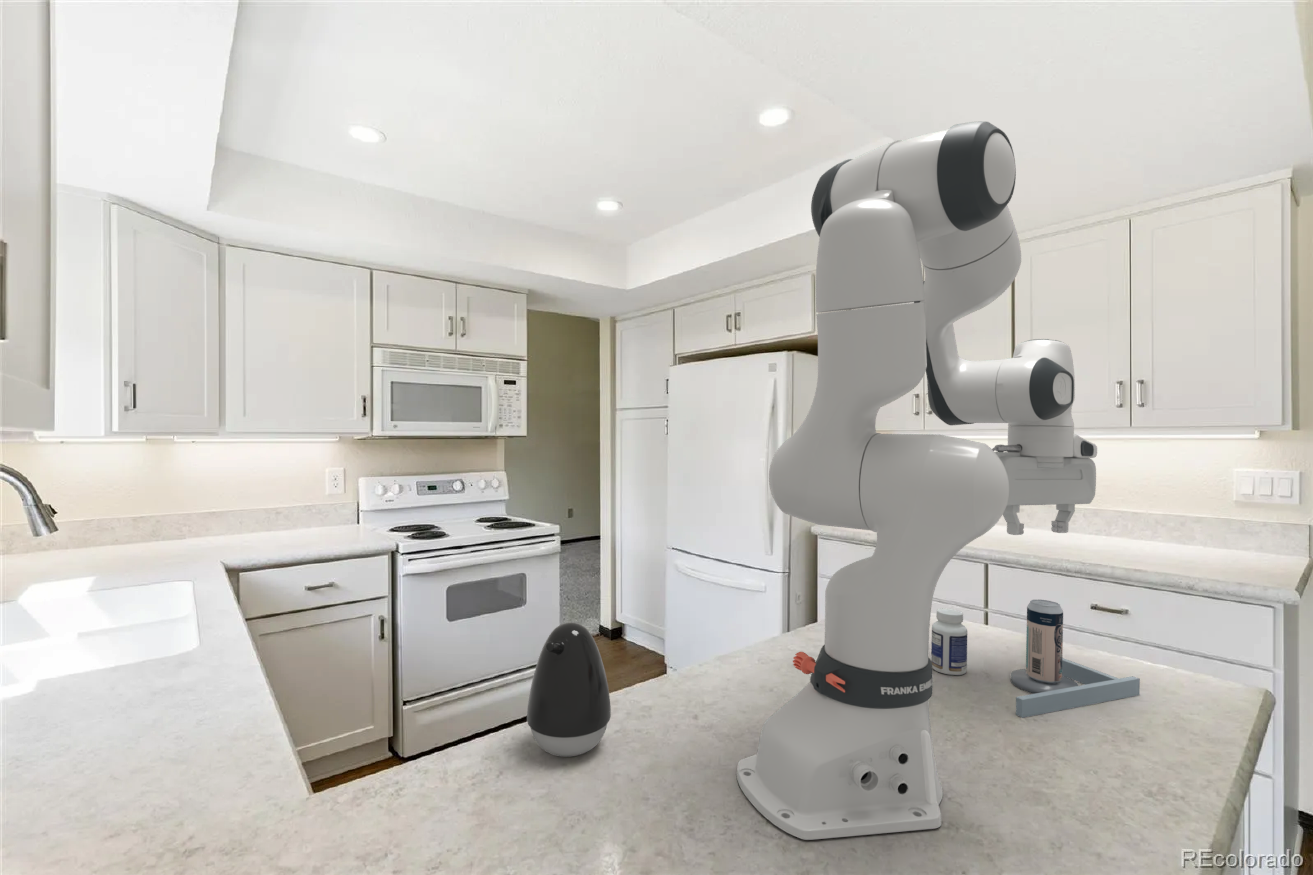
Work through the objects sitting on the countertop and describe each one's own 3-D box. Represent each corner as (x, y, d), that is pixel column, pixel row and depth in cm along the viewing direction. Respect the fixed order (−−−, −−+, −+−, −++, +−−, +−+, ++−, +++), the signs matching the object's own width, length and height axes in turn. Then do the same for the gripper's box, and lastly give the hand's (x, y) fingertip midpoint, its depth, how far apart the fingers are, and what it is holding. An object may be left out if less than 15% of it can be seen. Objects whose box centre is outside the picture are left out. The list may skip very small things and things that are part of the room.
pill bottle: (968, 668, 104) (969, 610, 104) (964, 678, 100) (965, 618, 100) (933, 661, 107) (934, 605, 107) (928, 671, 103) (929, 612, 103)
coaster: (1049, 702, 91) (1049, 695, 91) (997, 678, 100) (997, 672, 100) (1092, 694, 94) (1093, 687, 94) (1038, 672, 103) (1038, 666, 103)
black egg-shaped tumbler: (509, 759, 74) (510, 630, 73) (552, 721, 83) (554, 607, 83) (586, 776, 70) (588, 642, 70) (623, 734, 80) (624, 616, 80)
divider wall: (1022, 717, 86) (1022, 699, 86) (943, 679, 99) (944, 663, 99) (1139, 695, 94) (1139, 678, 94) (1052, 662, 107) (1052, 648, 107)
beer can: (1067, 687, 94) (1068, 608, 94) (1032, 684, 95) (1034, 605, 95) (1054, 675, 99) (1055, 599, 99) (1021, 672, 100) (1022, 597, 100)
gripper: (1006, 444, 91) (1004, 539, 91) (1105, 446, 98) (1103, 534, 98) (972, 443, 97) (970, 532, 97) (1067, 445, 104) (1065, 528, 104)
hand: (1037, 533), depth 98 cm, fingers open, 8 cm apart
